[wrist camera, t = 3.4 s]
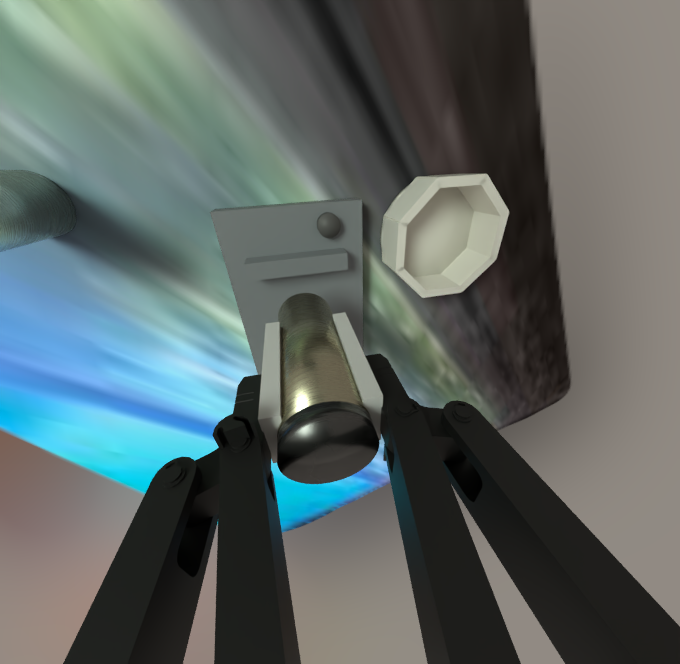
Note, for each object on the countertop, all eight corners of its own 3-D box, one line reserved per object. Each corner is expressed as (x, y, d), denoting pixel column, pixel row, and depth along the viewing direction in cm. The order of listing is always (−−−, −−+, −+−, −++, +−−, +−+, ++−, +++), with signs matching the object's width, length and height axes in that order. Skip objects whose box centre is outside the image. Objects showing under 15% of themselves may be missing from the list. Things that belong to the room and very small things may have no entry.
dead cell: (272, 297, 16) (265, 435, 8) (328, 288, 16) (378, 409, 8) (284, 344, 18) (289, 493, 10) (334, 334, 18) (379, 470, 10)
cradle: (215, 209, 18) (204, 215, 15) (356, 197, 19) (368, 201, 16) (259, 367, 25) (257, 388, 23) (359, 350, 26) (367, 369, 24)
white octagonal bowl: (381, 179, 19) (401, 179, 16) (483, 171, 20) (520, 171, 17) (378, 285, 23) (393, 301, 20) (462, 274, 24) (488, 288, 21)
